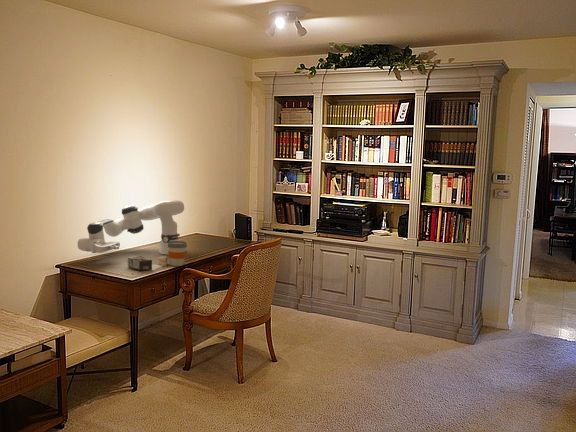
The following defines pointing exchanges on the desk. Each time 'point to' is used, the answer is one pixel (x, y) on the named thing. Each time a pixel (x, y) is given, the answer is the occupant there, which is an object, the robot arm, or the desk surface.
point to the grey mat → (156, 267)
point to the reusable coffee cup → (177, 252)
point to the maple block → (162, 260)
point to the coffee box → (139, 263)
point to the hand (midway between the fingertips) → (117, 247)
